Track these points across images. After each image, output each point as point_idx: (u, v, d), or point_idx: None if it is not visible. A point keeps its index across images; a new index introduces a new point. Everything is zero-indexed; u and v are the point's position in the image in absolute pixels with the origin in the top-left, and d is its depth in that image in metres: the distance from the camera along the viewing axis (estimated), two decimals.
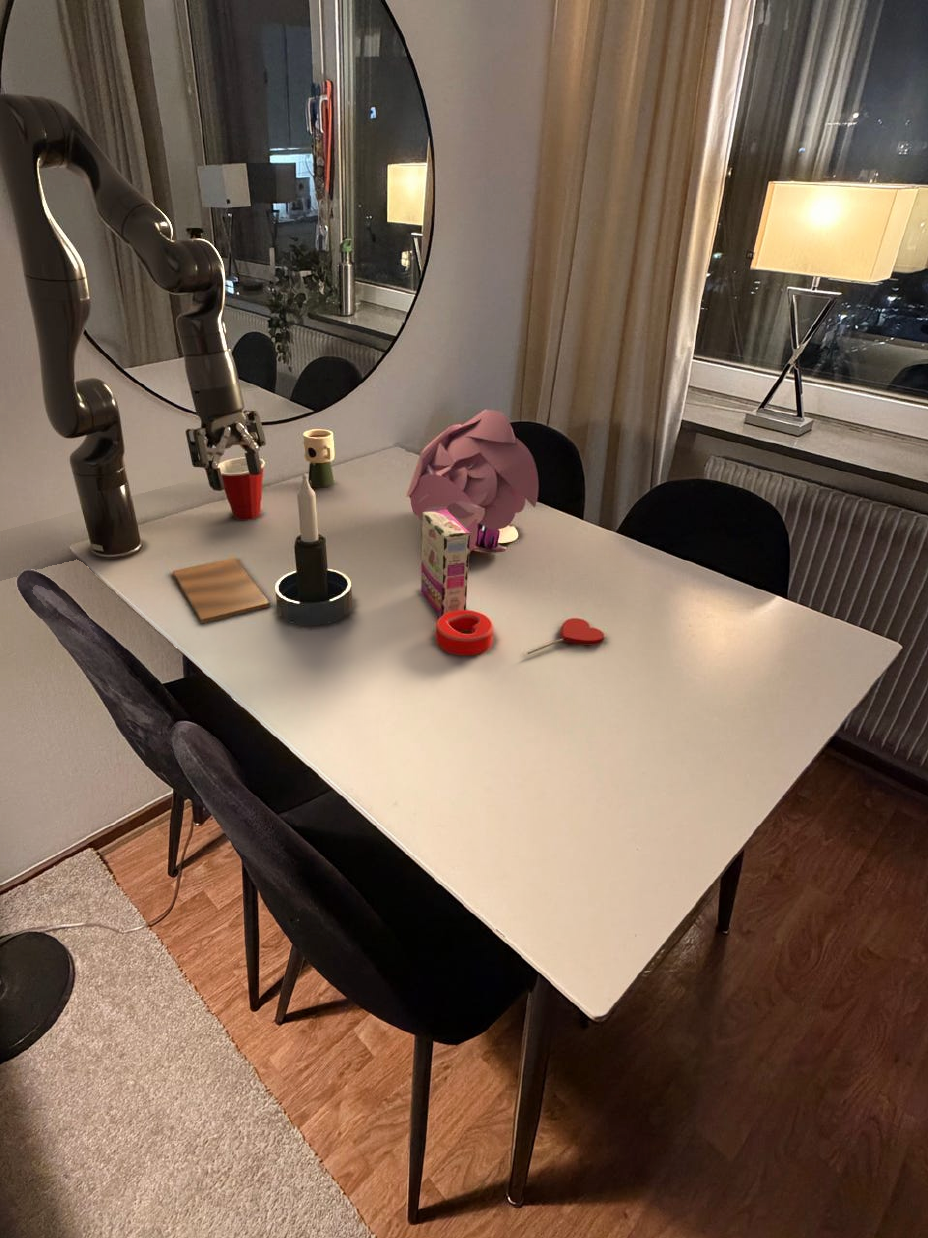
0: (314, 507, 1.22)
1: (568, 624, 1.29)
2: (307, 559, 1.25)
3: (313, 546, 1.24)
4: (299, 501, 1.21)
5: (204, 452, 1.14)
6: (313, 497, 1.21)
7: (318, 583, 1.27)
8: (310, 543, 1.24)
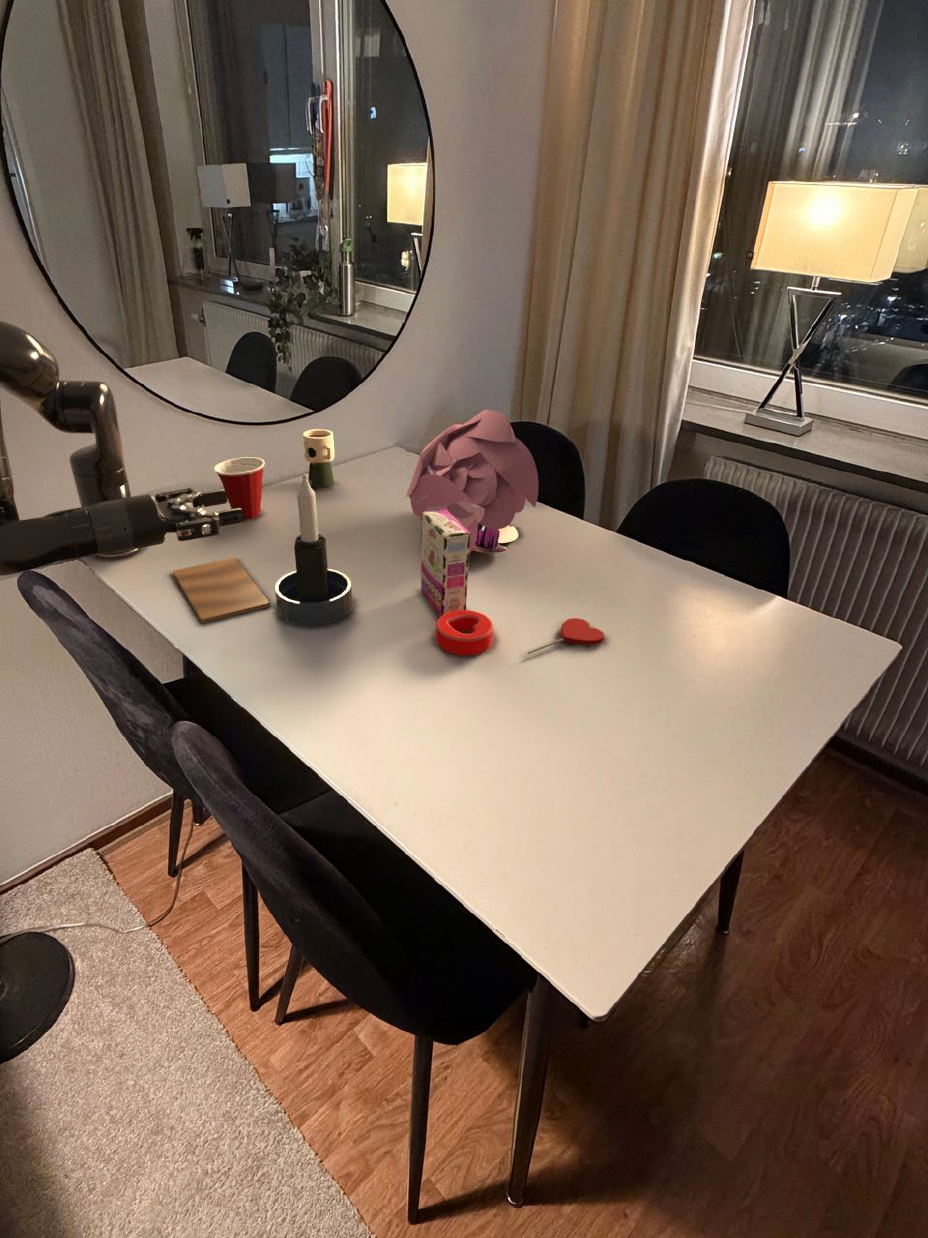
0: (314, 507, 1.22)
1: (568, 624, 1.29)
2: (307, 559, 1.25)
3: (313, 546, 1.24)
4: (299, 501, 1.21)
5: None
6: (313, 497, 1.21)
7: (318, 583, 1.27)
8: (310, 543, 1.24)
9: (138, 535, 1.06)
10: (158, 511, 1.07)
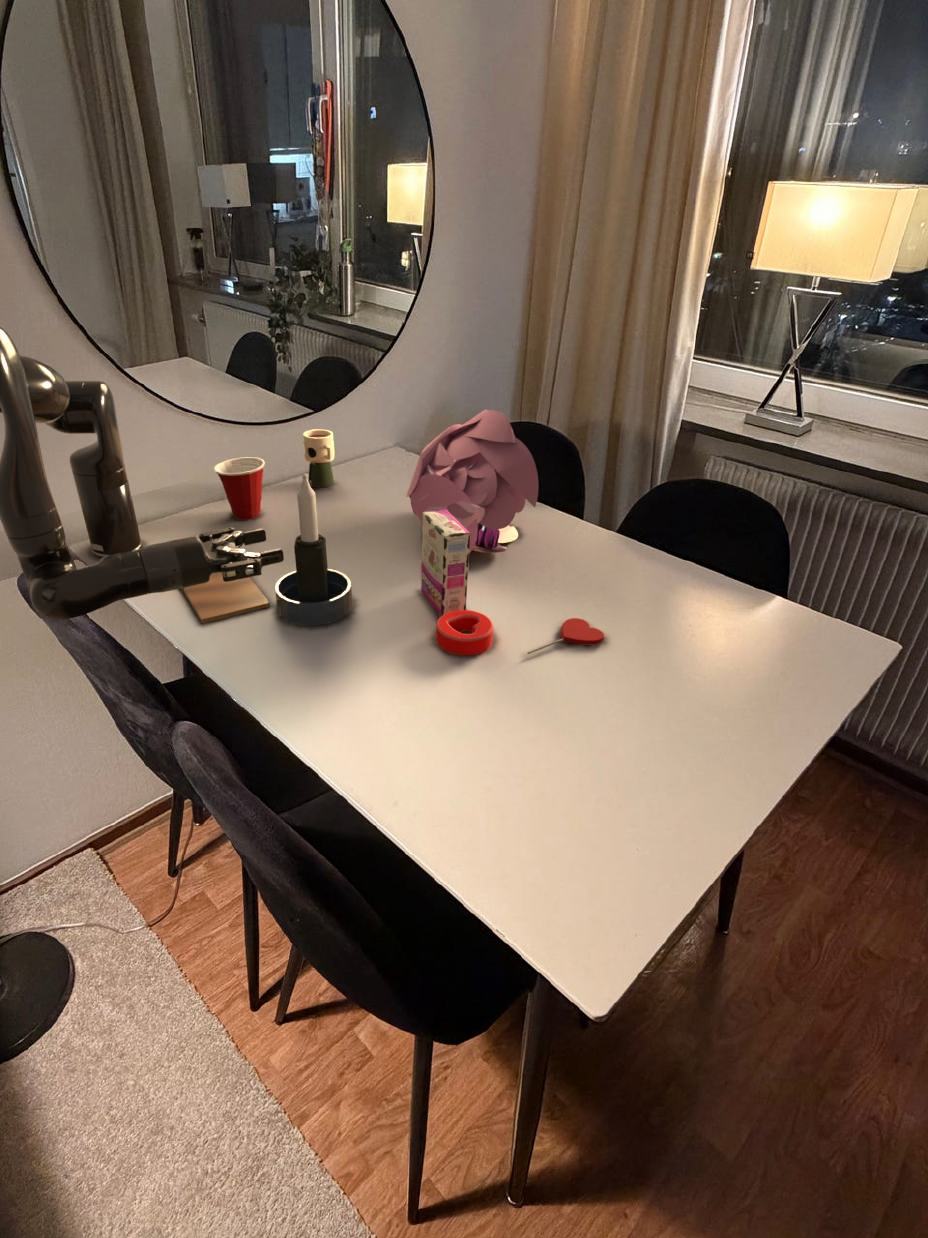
0: (314, 507, 1.22)
1: (568, 624, 1.29)
2: (307, 559, 1.25)
3: (313, 546, 1.24)
4: (299, 501, 1.21)
5: None
6: (313, 497, 1.21)
7: (318, 583, 1.27)
8: (310, 543, 1.24)
9: (186, 576, 1.13)
10: (205, 553, 1.14)
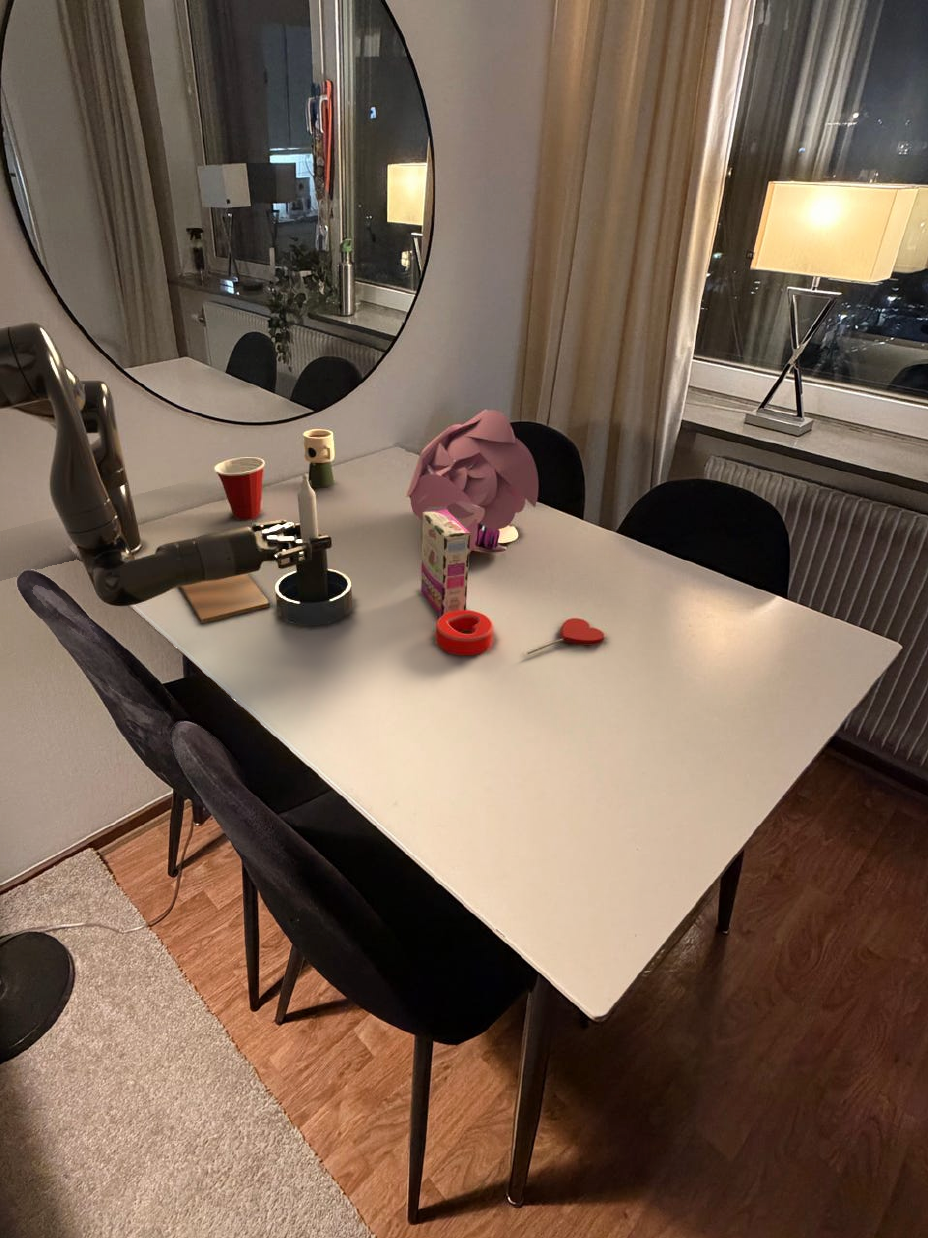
0: (314, 507, 1.22)
1: (568, 624, 1.29)
2: None
3: None
4: (299, 501, 1.21)
5: None
6: (313, 497, 1.21)
7: (318, 583, 1.27)
8: None
9: (239, 564, 1.17)
10: (256, 542, 1.17)
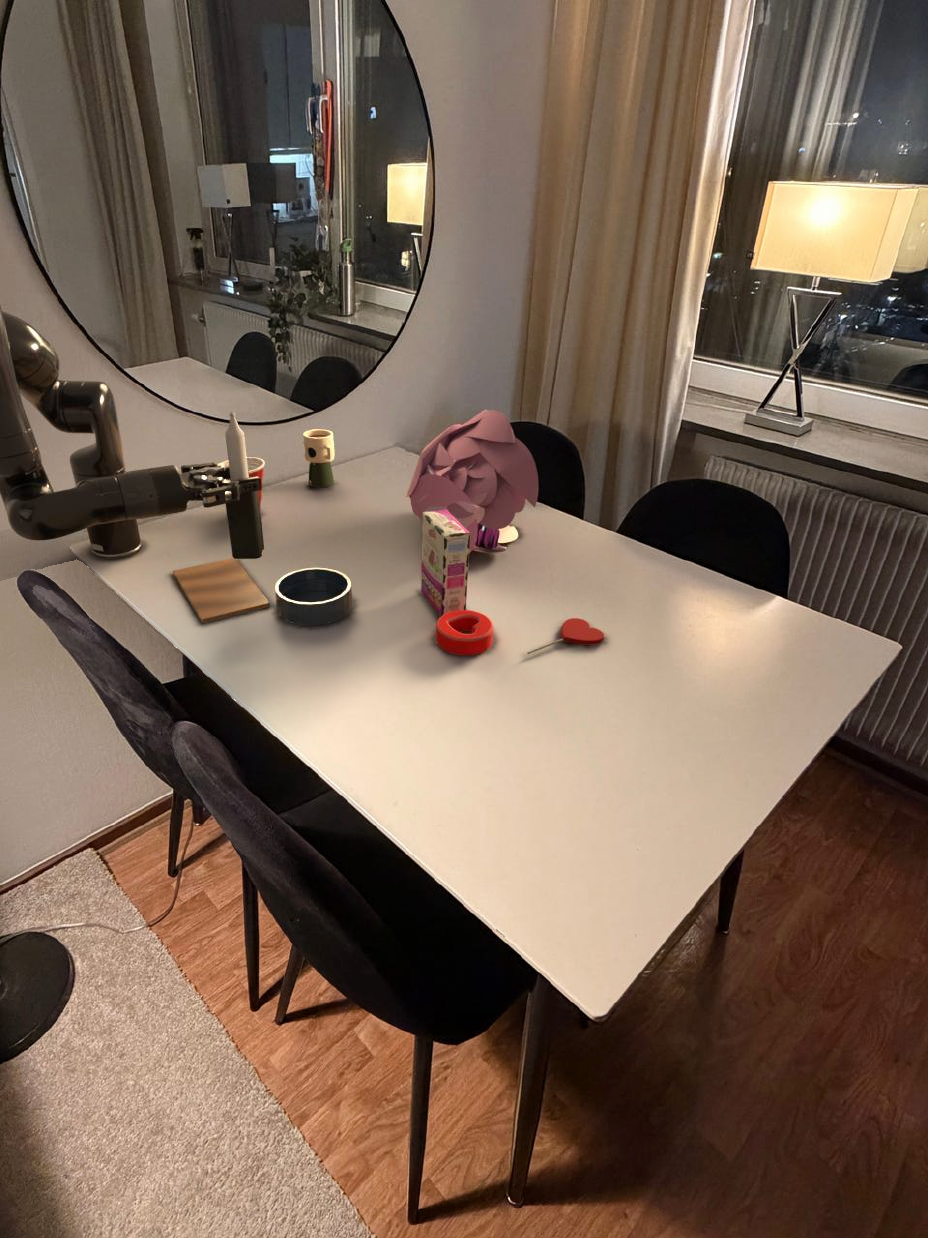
0: (243, 447, 1.20)
1: (568, 624, 1.29)
2: (236, 502, 1.23)
3: None
4: (227, 440, 1.19)
5: None
6: (241, 437, 1.19)
7: (249, 527, 1.25)
8: None
9: (163, 502, 1.15)
10: (181, 480, 1.15)
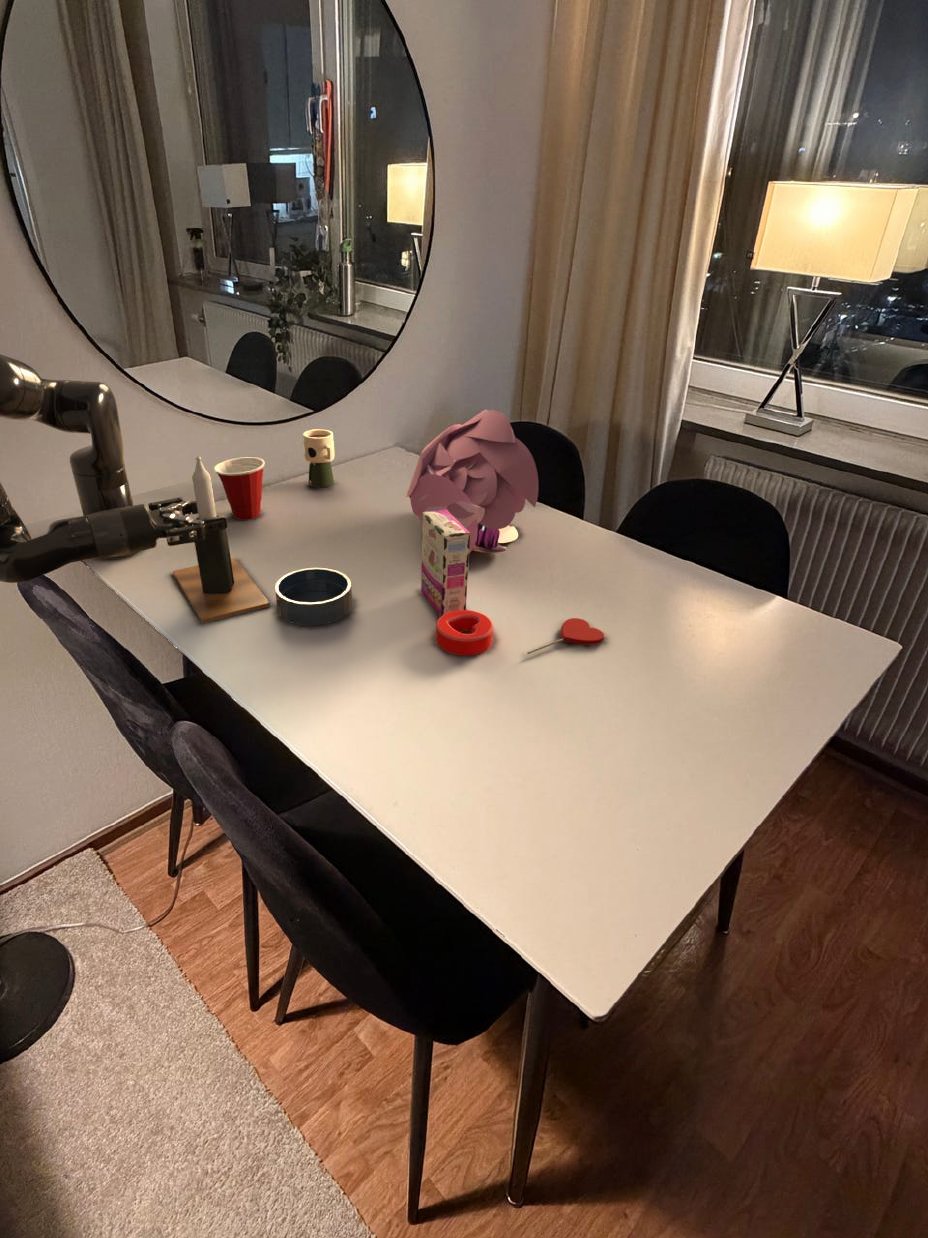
0: (209, 489, 1.25)
1: (568, 624, 1.29)
2: (205, 540, 1.28)
3: None
4: (194, 483, 1.24)
5: None
6: (208, 479, 1.24)
7: (217, 564, 1.31)
8: None
9: (133, 540, 1.20)
10: (150, 519, 1.21)
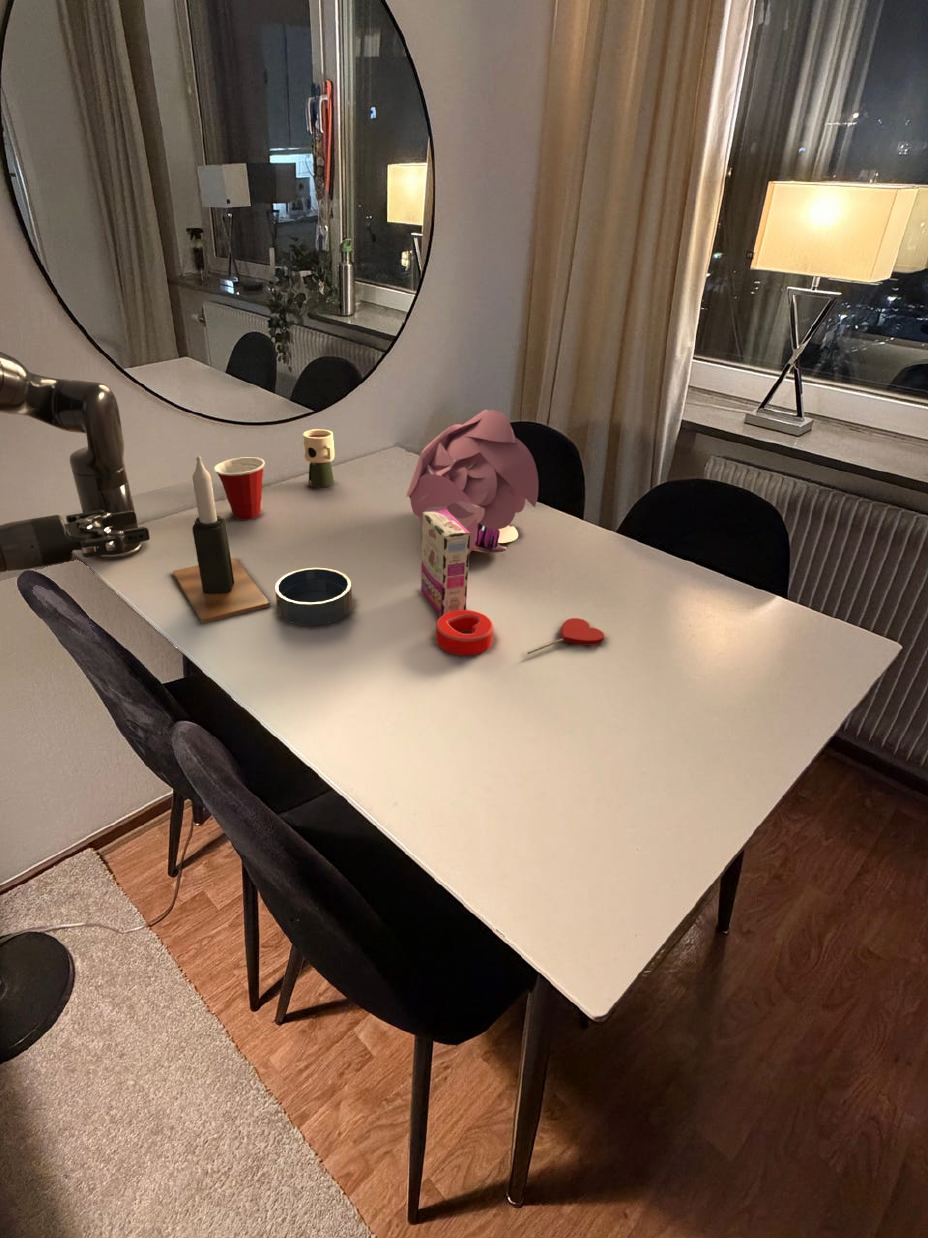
0: (210, 489, 1.25)
1: (568, 624, 1.29)
2: (205, 540, 1.28)
3: (210, 527, 1.27)
4: (194, 483, 1.24)
5: None
6: (208, 479, 1.24)
7: (218, 564, 1.31)
8: (207, 524, 1.27)
9: (45, 552, 1.13)
10: (65, 530, 1.15)
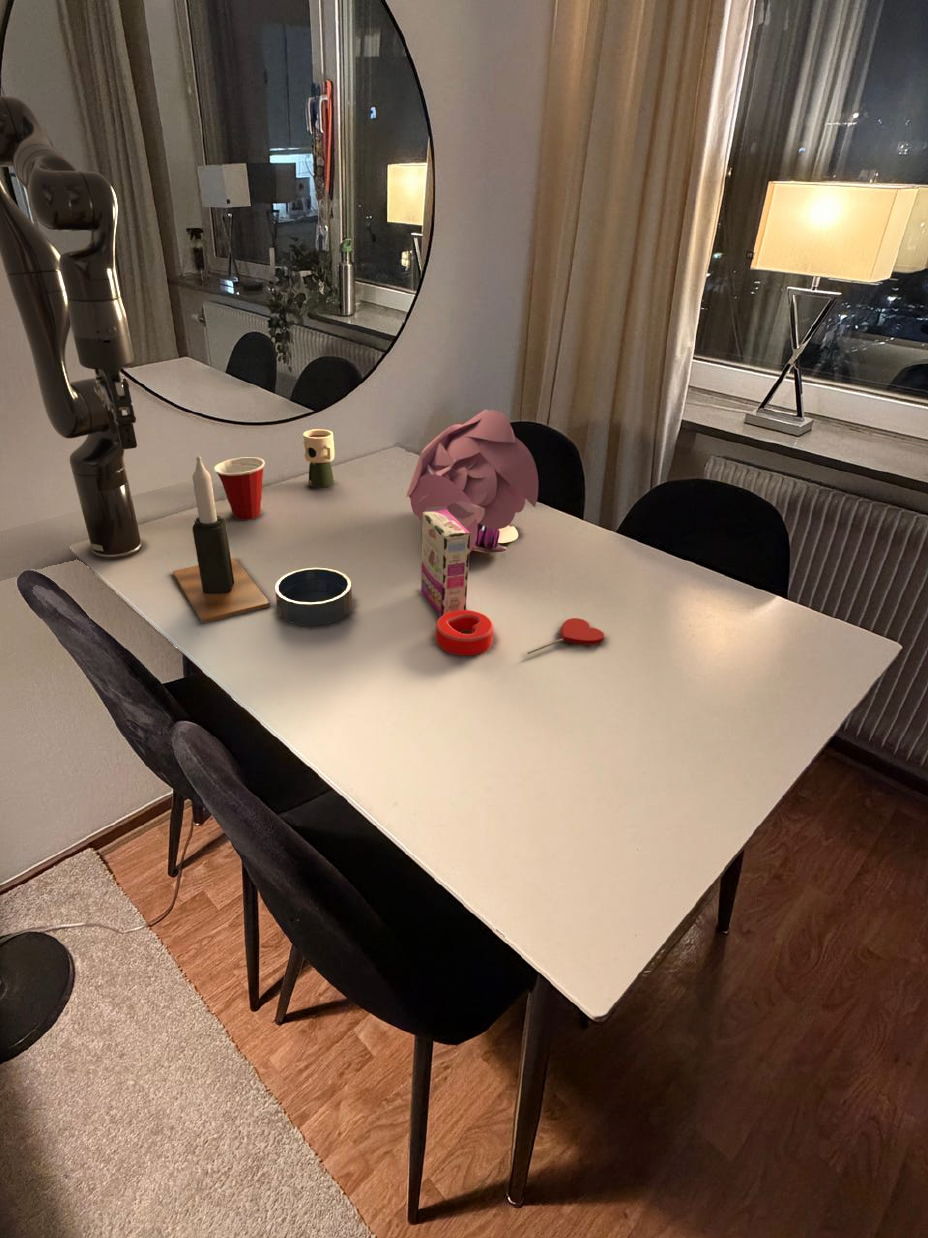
0: (210, 489, 1.25)
1: (568, 624, 1.29)
2: (205, 540, 1.28)
3: (210, 527, 1.27)
4: (194, 483, 1.24)
5: None
6: (208, 479, 1.24)
7: (218, 564, 1.31)
8: (207, 524, 1.27)
9: None
10: None
